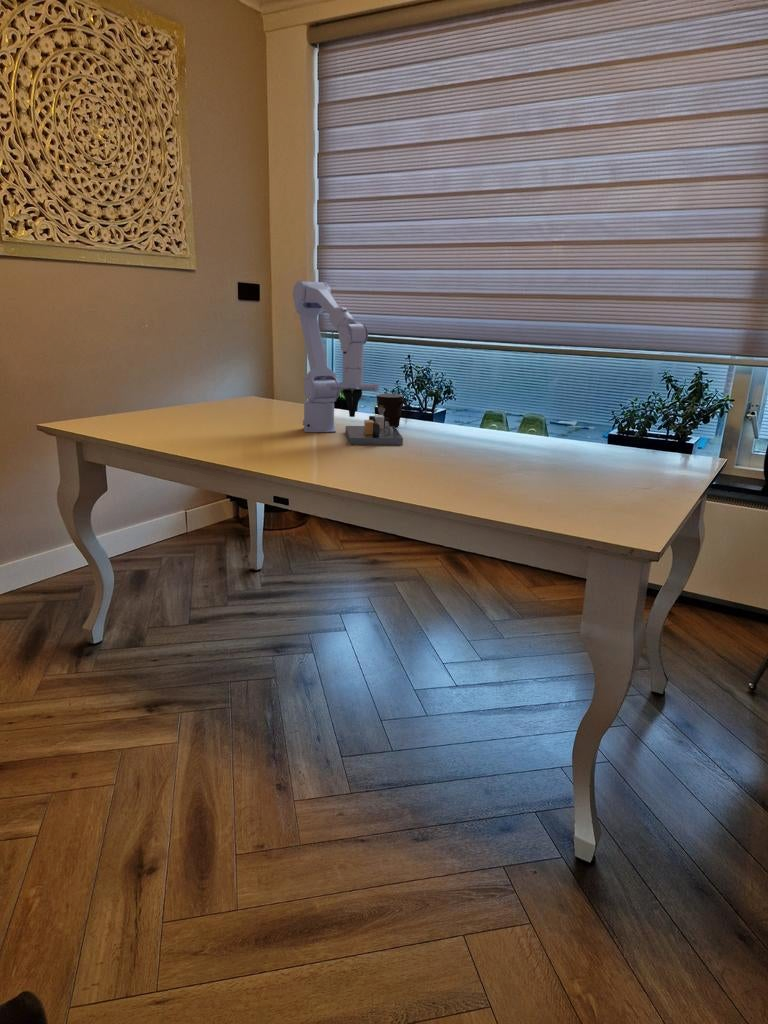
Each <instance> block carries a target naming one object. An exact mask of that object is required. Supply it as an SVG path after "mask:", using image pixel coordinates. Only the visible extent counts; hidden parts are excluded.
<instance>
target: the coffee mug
mask: <svg viewBox="0 0 768 1024" xmlns="http://www.w3.org/2000/svg"><path fill="white" fill-rule="evenodd" d="M376 403H377V404H376V405H377V415H383V416H384V426H385V421H388V423H389V426H395V427H398V426H399V427H400V422H401V418H402V417H405V415H406V414H407V412H408V410H409V406H408V404H407V402H405V401H404V394H400V393H386V392H385V393H377V394H376ZM403 405H404V406H405V411H404V412H403V413H402V409H403ZM399 427H398V428H399Z"/></svg>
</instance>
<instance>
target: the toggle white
mask: <svg viewBox="0 0 768 1024" xmlns="http://www.w3.org/2000/svg"><path fill="white" fill-rule="evenodd" d="M374 416H376V423H380V429H384V416H383V415H378V414H374Z"/></svg>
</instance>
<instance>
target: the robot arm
mask: <svg viewBox="0 0 768 1024" xmlns="http://www.w3.org/2000/svg"><path fill="white" fill-rule="evenodd" d="M292 299H293V303H294V308H295V312H296V313H297V314H298V316H299V321H300V327H301V331H302V336H303V341H304V347H305V351H306V355H307V360H308V365H309V366H308V367H309V370H310V371H308V372H307V373H306V374H305V375H304V377H303V383H304V387H303V390H304V391H303V393H304V395H305V397H306V399H307V400H305V401H304V402H303V403H304V404H303V420H302V426H304V427H303V429H304V430H303V431H304V433H336V431H337V430H336V426H335V402H337V399H338V398H339V397H340V394H341V391H342V393H343V395H344V398H345V401H346V405H347V407H348V414H349V416H348V417H349V418H355V416H356V412H357V407H358V404H359V401H360V399H361V398H362V395H363V392H379V384H378V383H366V382H364V383H363V380H364V379H363V378H364V345H365V344H366V343H367V342H368V339H369V330H368V328H367V327H368V326H366V324H365V323H363V322H359V321H356V320H355V318H354V317H353V316H352V315H351V313H350V312H349V311H348V308H346V307H345V306H340V305H338V303H337V302H336V300H335V298H334V296H333V295H332V289H331V286H330V285H329V284H328V282H326V281H320V282H319V281H304V280H298V281H296V282H295V284H294V286H293V290H292ZM324 311H325V312H326V313H327V314H328V315H329V316H328V320H329V322H330V324H331V325H332V327H334V329H335V330H336V331H337V333H338V339H339V342H340V350H341V351H342V381H341V382H339V380H338V378H337V376H336V375H337V374H336V373H335V372H334V371H333V370H332V369H330V368H329V367H328V364H327V360H326V359H327V358H326V353H325V349H324V345H323V340H322V336H321V330H320V325H319V320H318V317H319V315H320V314H322V313H323V312H324Z"/></svg>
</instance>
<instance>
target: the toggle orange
mask: <svg viewBox="0 0 768 1024" xmlns="http://www.w3.org/2000/svg"><path fill="white" fill-rule="evenodd" d="M373 423H374V421H373V420H369V419H364V424H363V426H364V433H365V435H373Z"/></svg>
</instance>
